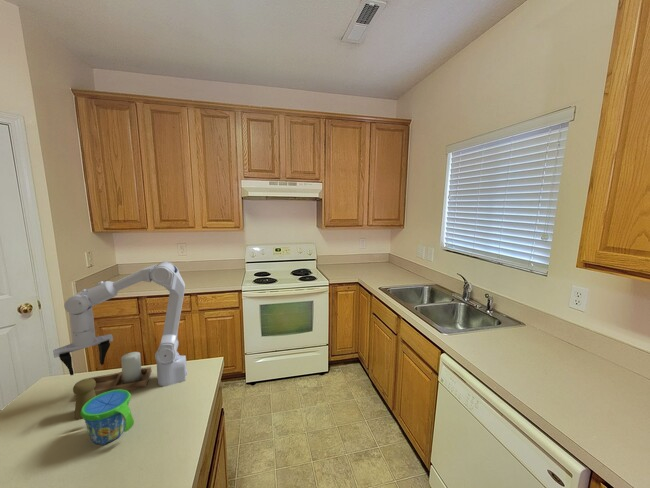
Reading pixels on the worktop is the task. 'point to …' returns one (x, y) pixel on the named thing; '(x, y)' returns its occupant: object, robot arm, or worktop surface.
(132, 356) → the salt shaker
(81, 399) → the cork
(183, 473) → the worktop surface
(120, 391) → the snack cup
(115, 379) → the caddy
